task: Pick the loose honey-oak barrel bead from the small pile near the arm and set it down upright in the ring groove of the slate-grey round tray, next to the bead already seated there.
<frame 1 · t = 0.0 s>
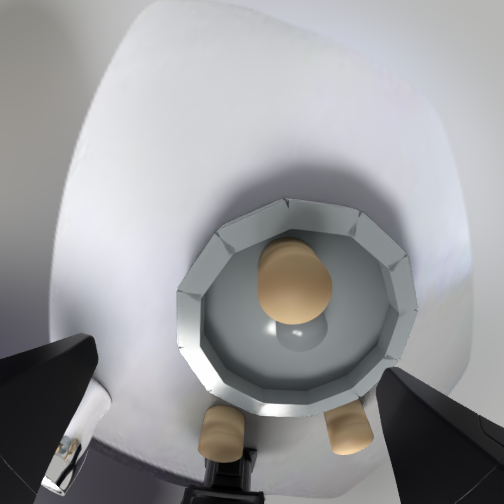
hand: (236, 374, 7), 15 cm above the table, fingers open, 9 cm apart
bead c: (224, 418, 26), on the table
tray: (298, 315, 23), on the table
beer glass: (91, 391, 27), on the table
bead a: (343, 410, 26), on the table
bead b: (287, 265, 21), point 1 cm above the table, touching tray
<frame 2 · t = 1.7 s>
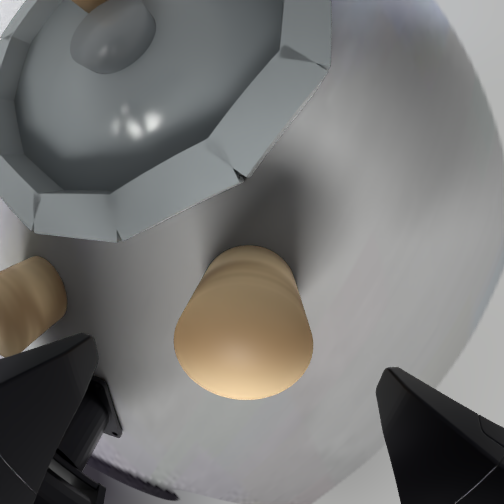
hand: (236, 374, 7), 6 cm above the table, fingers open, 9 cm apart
bead c: (43, 289, 14), on the table
tray: (126, 46, 10), on the table
bead a: (249, 290, 13), on the table
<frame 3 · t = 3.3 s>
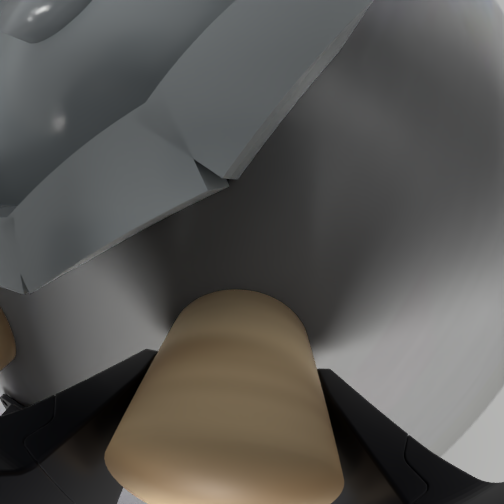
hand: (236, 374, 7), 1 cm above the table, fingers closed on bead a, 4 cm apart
tray: (74, 8, 5), on the table
bead a: (238, 353, 8), on the table, touching gripper
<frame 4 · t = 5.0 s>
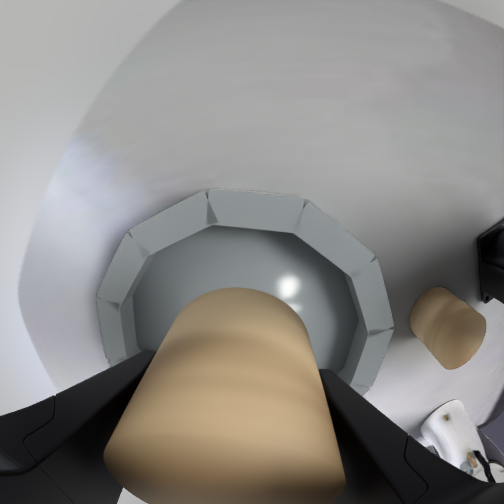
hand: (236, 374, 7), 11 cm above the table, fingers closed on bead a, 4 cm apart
bead c: (431, 312, 18), on the table
tray: (243, 330, 19), on the table
beer glass: (441, 416, 22), on the table
bead a: (238, 352, 8), point 10 cm above the table, touching gripper
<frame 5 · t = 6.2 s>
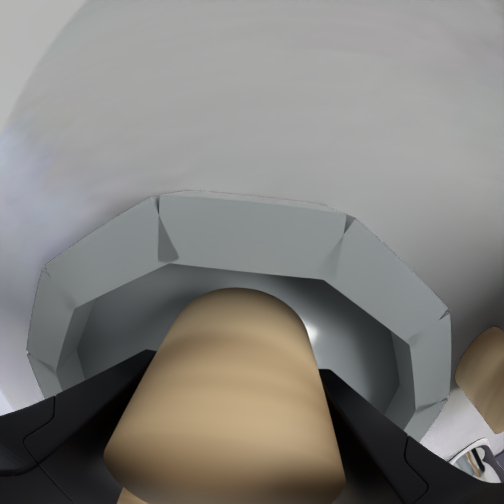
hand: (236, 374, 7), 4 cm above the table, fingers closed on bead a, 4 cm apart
bead c: (480, 357, 12), on the table
tray: (234, 399, 12), on the table
beer glass: (463, 455, 15), on the table
bead a: (238, 352, 8), point 3 cm above the table, touching gripper
when the fingers open (4 cm above the table, at t = 7.0 s): bead a drops 1 cm, resting on tray.
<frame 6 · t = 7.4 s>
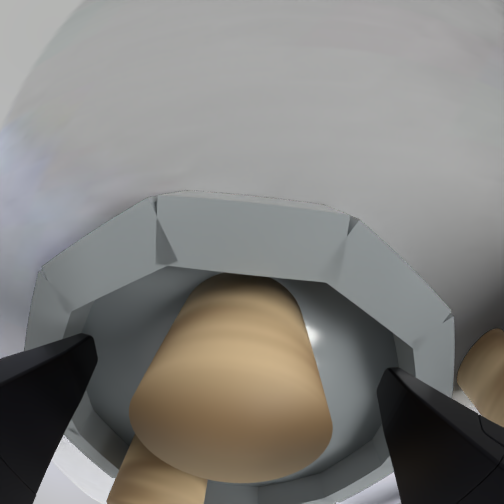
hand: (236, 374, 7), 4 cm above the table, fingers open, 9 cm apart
bead c: (482, 359, 11), on the table
tray: (234, 402, 12), on the table
bead a: (241, 329, 10), point 1 cm above the table, touching tray
bead b: (172, 448, 12), point 1 cm above the table, touching tray
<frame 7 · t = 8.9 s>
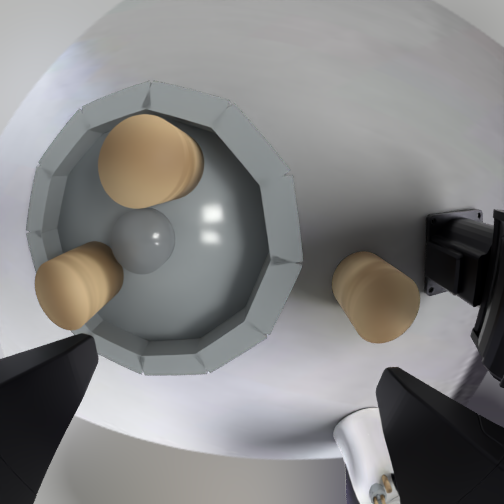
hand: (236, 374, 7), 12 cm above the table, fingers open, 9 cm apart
bead c: (360, 280, 19), on the table
tray: (152, 234, 18), on the table
beer glass: (359, 424, 23), on the table
bead a: (169, 165, 16), point 1 cm above the table, touching tray
bead b: (98, 270, 18), point 1 cm above the table, touching tray
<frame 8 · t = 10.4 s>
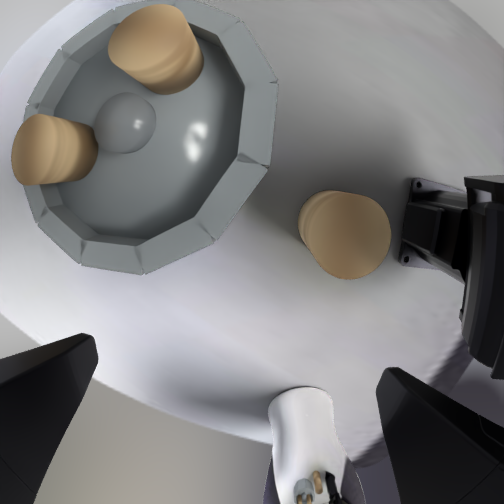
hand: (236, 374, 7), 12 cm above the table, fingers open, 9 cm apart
bead c: (329, 222, 18), on the table
tray: (135, 127, 17), on the table
beer glass: (300, 407, 23), on the table
bead a: (172, 66, 15), point 1 cm above the table, touching tray
bead b: (75, 152, 16), point 1 cm above the table, touching tray
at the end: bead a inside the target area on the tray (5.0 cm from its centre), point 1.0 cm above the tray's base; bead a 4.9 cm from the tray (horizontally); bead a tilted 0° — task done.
